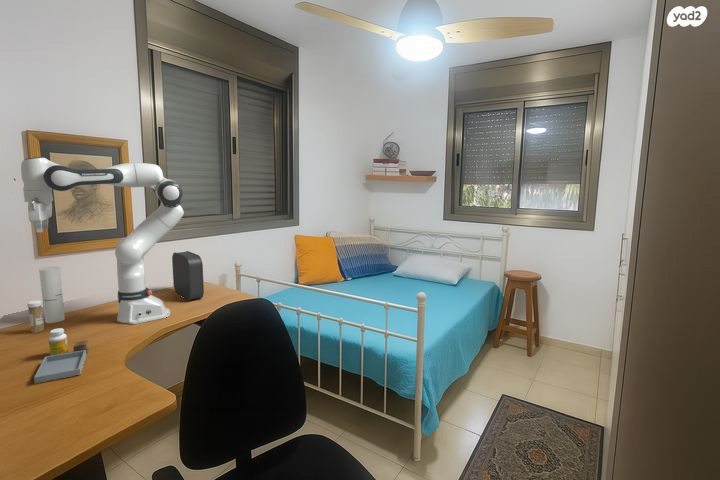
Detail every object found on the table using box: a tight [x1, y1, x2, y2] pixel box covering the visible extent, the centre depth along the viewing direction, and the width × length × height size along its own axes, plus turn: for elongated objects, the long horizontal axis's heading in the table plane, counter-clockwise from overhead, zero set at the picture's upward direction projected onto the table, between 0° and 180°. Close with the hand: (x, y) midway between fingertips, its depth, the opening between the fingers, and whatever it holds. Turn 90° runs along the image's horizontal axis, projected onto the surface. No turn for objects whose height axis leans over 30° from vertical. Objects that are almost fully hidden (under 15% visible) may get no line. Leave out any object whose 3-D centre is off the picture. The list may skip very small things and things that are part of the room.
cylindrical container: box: [38, 266, 66, 324], centre depth 170 cm, size 7×7×25 cm
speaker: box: [171, 250, 205, 301], centre depth 211 cm, size 25×9×25 cm, turn 46°
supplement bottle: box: [48, 327, 69, 356], centre depth 140 cm, size 5×5×10 cm
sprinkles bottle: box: [27, 299, 45, 334], centre depth 159 cm, size 5×5×14 cm
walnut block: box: [72, 340, 89, 355], centre depth 142 cm, size 4×4×4 cm
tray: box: [33, 350, 88, 384], centre depth 130 cm, size 12×16×2 cm
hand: (42, 230), depth 153 cm, fingers open, 8 cm apart
